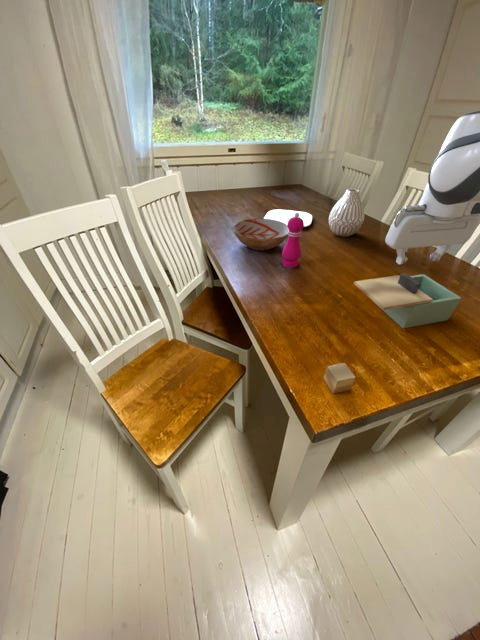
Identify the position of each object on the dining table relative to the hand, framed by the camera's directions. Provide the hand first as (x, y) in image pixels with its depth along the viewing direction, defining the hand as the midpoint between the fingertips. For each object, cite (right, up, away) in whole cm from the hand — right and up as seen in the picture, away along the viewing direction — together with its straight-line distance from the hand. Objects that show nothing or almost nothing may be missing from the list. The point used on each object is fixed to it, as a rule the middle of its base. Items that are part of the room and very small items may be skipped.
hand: (417, 261), depth 68 cm
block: (-22, -29, -5) cm, 37 cm away
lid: (-1, -7, +10) cm, 12 cm away
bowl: (-35, +19, +55) cm, 68 cm away
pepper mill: (-24, +8, +41) cm, 48 cm away
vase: (+7, +28, +67) cm, 73 cm away
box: (+9, -11, +17) cm, 23 cm away
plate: (-18, +40, +81) cm, 92 cm away
